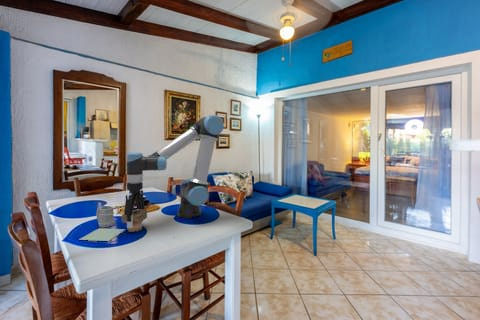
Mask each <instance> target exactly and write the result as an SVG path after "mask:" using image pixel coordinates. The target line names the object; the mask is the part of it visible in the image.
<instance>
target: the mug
mask: <svg viewBox="0 0 480 320" xmlns="http://www.w3.org/2000/svg"><path fill="white" fill-rule="evenodd" d="M97 204H98V205H97V209H96V214H95V215H96V220H97V221H98V222H97V223H98V228H110V227H112V226H114V224H115V219H114V214H115V212H114V207H113V206H112V205H111V206H109V205H107V206H102V203H101V202H97ZM109 226H110V227H109Z"/></svg>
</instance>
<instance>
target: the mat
mask: <svg viewBox="0 0 480 320" xmlns="http://www.w3.org/2000/svg"><path fill="white" fill-rule="evenodd" d="M125 231H126V228H125V229H124V228H122V229H121V228H106V227H98V229H95V230H93V231H92V232H90V233H88V234H86V235H85V236H83V237H80V238H79V239H78V241H79V240H88V241H87V242H97V241H108V242H107V243H109V242H111V241H113V240H114V239H115V238H116V236H117V237H118V236H119V234H120V233H121V234H122V233H124V232H125ZM121 234H120V235H121ZM113 238H114V239H113ZM110 240H111V241H110Z"/></svg>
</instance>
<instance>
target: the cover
mask: <svg viewBox="0 0 480 320" xmlns="http://www.w3.org/2000/svg"><path fill="white" fill-rule="evenodd" d="M132 215H133V223H140V222H142V223H143V221H144V220H146V219H147V218H148V210H145V209H142V210H137V209H133V212H132ZM123 223H124V224H127V215H124V213H123V214H121V224H123Z"/></svg>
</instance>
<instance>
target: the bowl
mask: <svg viewBox="0 0 480 320" xmlns="http://www.w3.org/2000/svg"><path fill="white" fill-rule="evenodd" d="M126 228H127V227H126ZM127 230H128V231H127V232H129V233H134V232H135V231H136V232H139V230H140V231H142V230H143V221H142V222H140V223H133V228H127Z"/></svg>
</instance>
